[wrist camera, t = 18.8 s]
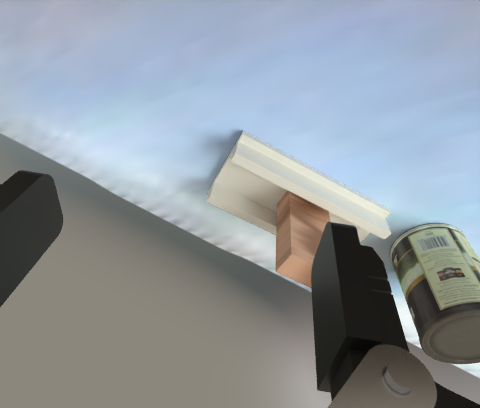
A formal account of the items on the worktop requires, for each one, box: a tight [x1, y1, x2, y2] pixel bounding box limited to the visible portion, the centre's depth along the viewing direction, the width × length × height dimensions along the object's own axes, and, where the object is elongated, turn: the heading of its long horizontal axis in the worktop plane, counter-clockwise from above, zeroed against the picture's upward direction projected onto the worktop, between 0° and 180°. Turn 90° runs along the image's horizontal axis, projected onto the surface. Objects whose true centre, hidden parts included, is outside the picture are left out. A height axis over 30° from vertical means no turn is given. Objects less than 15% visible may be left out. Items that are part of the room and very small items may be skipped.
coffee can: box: [390, 223, 480, 364], centre depth 44 cm, size 10×10×14 cm
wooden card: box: [276, 191, 331, 287], centre depth 41 cm, size 6×3×12 cm, turn 62°
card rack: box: [207, 131, 391, 243], centre depth 45 cm, size 22×10×4 cm, turn 62°
